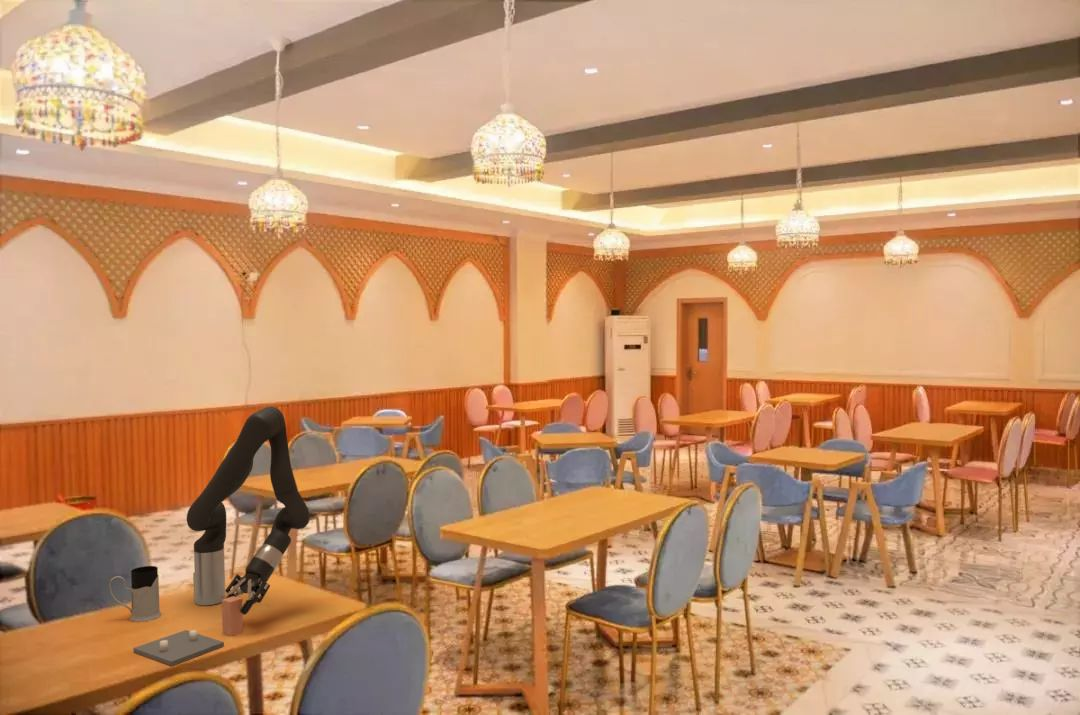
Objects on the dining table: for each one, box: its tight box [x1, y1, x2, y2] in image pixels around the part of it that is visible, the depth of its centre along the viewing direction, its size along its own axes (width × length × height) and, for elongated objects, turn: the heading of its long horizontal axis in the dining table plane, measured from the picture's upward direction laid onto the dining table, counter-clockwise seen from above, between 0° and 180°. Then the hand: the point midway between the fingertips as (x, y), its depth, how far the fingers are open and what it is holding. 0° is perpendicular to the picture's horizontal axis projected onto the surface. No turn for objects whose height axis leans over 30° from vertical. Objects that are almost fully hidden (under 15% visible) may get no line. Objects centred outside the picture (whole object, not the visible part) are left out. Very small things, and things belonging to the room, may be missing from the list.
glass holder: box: [109, 565, 162, 623], centre depth 257 cm, size 9×14×15 cm, turn 112°
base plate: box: [132, 629, 225, 667], centre depth 231 cm, size 18×16×4 cm
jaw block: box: [221, 596, 244, 637], centre depth 243 cm, size 4×4×10 cm
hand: (233, 610), depth 243 cm, fingers open, 8 cm apart
